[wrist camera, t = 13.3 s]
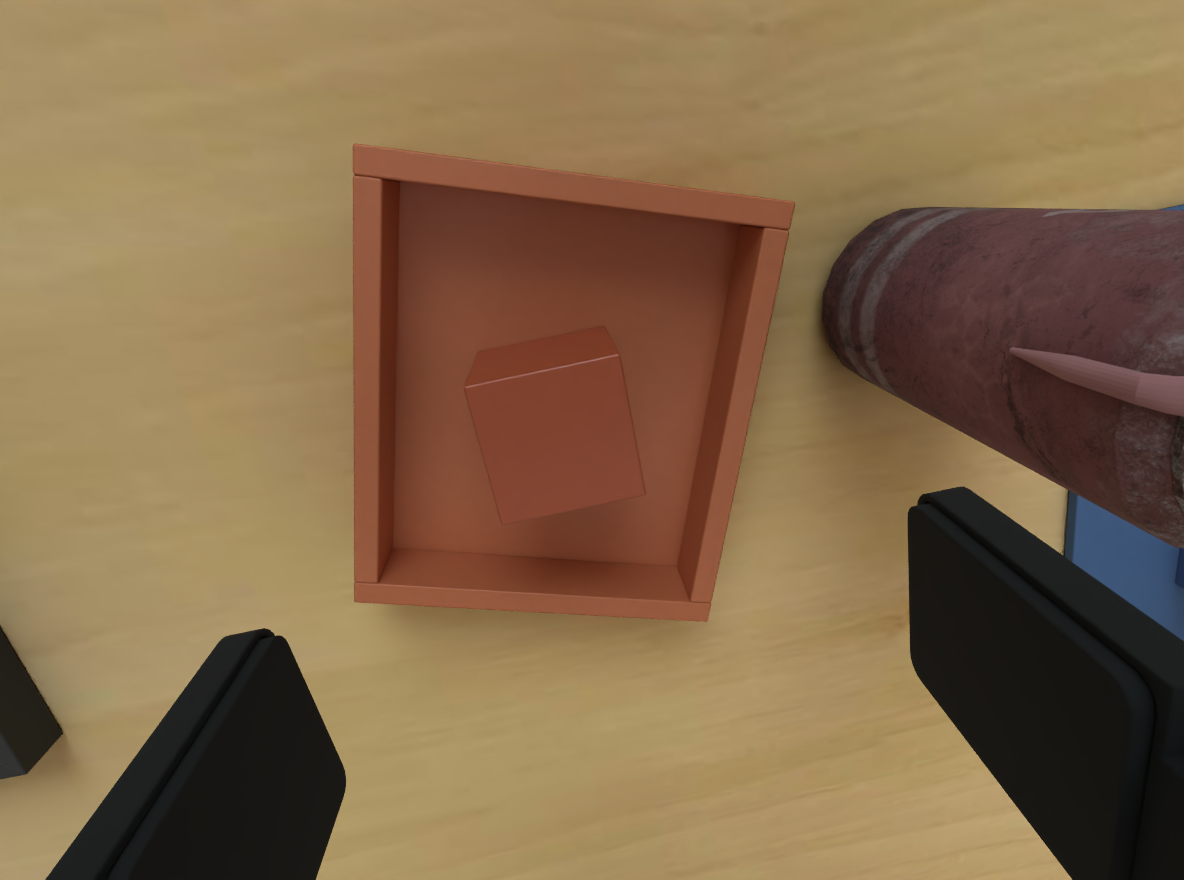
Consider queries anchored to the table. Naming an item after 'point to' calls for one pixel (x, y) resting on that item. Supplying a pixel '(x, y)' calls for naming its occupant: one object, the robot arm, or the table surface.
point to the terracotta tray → (533, 311)
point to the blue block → (1180, 570)
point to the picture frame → (21, 717)
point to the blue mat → (1126, 558)
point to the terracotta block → (554, 425)
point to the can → (1032, 340)
